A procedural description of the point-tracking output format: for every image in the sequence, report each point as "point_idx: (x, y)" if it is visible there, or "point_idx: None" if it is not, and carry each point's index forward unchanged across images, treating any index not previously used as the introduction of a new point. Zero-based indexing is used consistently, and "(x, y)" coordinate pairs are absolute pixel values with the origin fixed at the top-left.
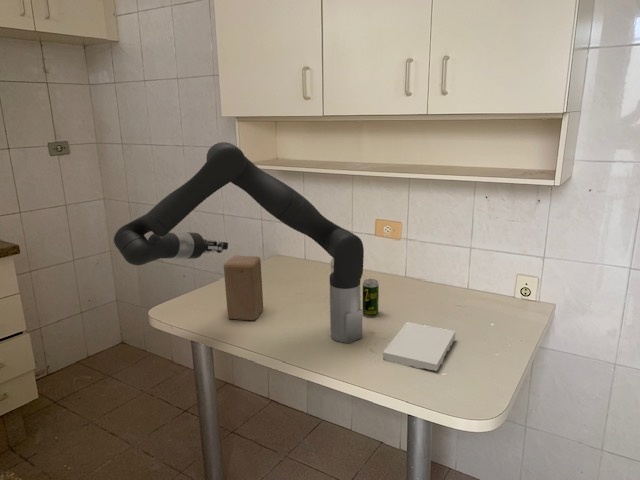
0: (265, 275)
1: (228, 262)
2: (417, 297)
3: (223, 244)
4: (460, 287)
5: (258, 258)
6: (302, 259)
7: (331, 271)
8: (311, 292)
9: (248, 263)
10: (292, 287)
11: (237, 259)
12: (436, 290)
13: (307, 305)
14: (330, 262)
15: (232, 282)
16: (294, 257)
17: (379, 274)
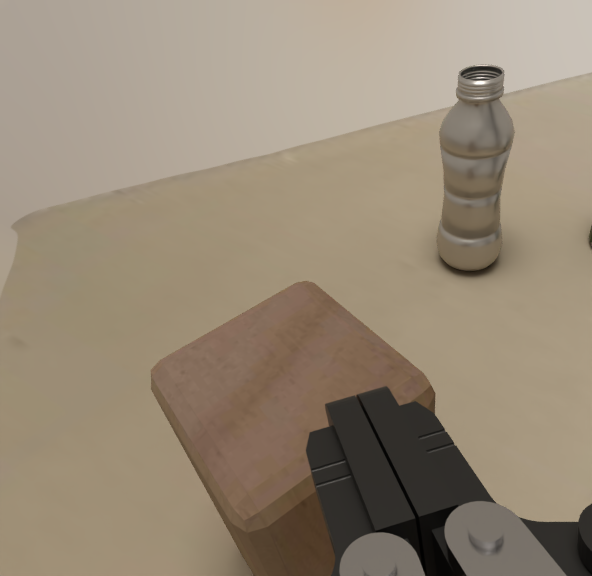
0: (90, 307)
1: (257, 476)
2: (562, 140)
3: (476, 476)
4: (558, 80)
5: (327, 294)
6: (111, 196)
7: (468, 173)
8: (335, 277)
9: (397, 378)
10: (251, 296)
11: (251, 393)
12: (545, 107)
13: (424, 332)
14: (456, 141)
15: (328, 551)
16: (78, 202)
17: (365, 134)
